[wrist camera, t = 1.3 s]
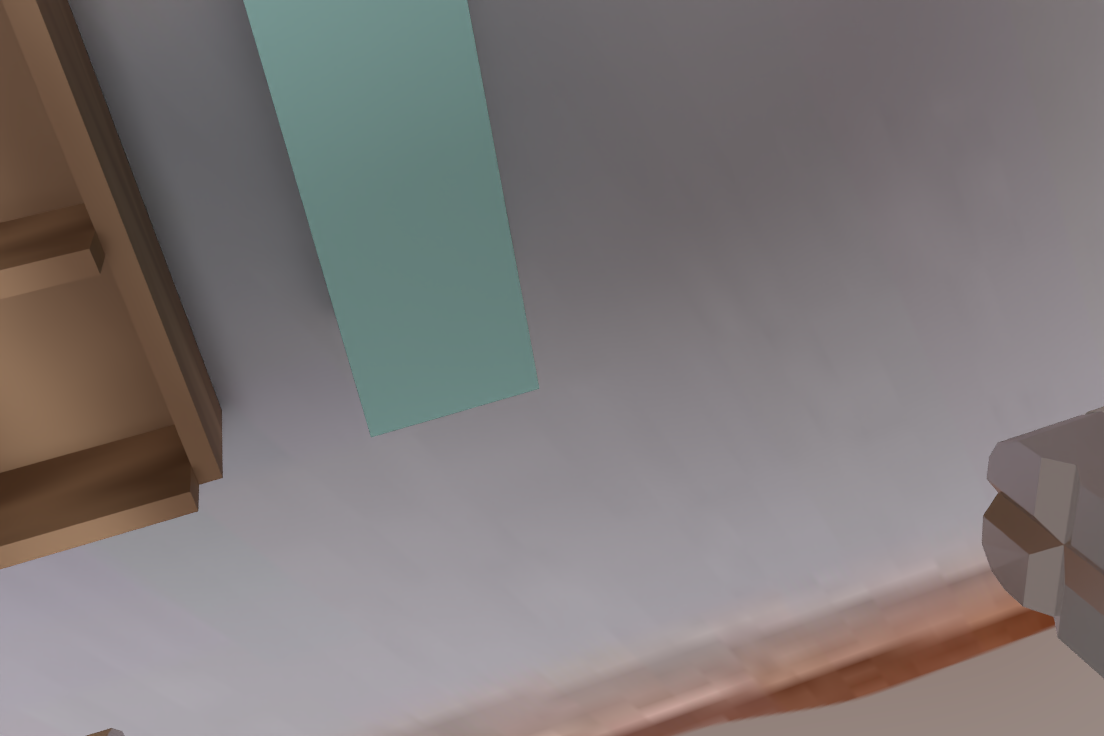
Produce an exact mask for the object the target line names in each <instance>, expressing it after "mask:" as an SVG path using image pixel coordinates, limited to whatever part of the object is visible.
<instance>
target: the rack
mask: <svg viewBox="0 0 1104 736" xmlns="http://www.w3.org/2000/svg"><path fill="white" fill-rule="evenodd" d="M220 478H223V467H222V410H221V407H220V405H219V402H218V399H217V397H216V394H215V391H214V389H213V386H212V383H211V381H210V378H209V375H208V373H207V370H206V367H205V365H204V362H203V360H202V357H201V354H200V352H199V349H198V346H197V344H196V341H195V338H194V336H193V333H192V330H191V328H190V325H189V322H188V320H187V317H186V314H185V312H184V309H183V306H182V304H181V301H180V298H179V296H178V293H177V290H176V288H175V285H174V282H173V280H172V277H171V274H170V272H169V269H168V267H167V264H166V261H165V259H164V256H163V253H162V251H161V248H160V245H159V243H158V240H157V237H156V235H155V232H154V229H153V227H152V224H151V221H150V219H149V216H148V213H147V211H146V208H145V205H144V203H143V200H142V197H141V195H140V192H139V189H138V187H137V184H136V181H135V179H134V176H133V174H132V171H131V168H130V166H129V163H128V160H127V158H126V155H125V152H124V150H123V147H122V144H121V142H120V139H119V136H118V134H117V131H116V128H115V126H114V123H113V120H112V118H111V115H110V112H109V110H108V107H107V104H106V102H105V99H104V96H103V94H102V91H101V88H100V86H99V83H98V81H97V78H96V75H95V73H94V70H93V67H92V65H91V62H90V59H89V57H88V54H87V51H86V49H85V46H84V43H83V41H82V38H81V35H80V33H79V30H78V27H77V25H76V22H75V19H74V17H73V14H72V11H71V9H70V6H69V3H68V1H67V0H0V569H3V568H6V567H10V566H13V565H17V564H20V563H23V562H27V561H30V560H34V559H37V558H40V557H44V556H47V555H51V554H54V553H57V552H61V551H64V550H68V549H71V548H74V547H78V546H81V545H85V544H88V543H91V542H95V541H98V540H102V539H105V538H109V537H112V536H115V535H119V534H122V533H126V532H129V531H132V530H136V529H139V528H143V527H146V526H149V525H153V524H156V523H160V522H163V521H166V520H170V519H173V518H177V517H180V516H183V515H187V514H190V513H194V512H197V511H198V502H199V484H203V483H206V482H210V481H213V480H217V479H220Z"/></svg>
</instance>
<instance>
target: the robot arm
mask: <svg viewBox="0 0 1104 736" xmlns="http://www.w3.org/2000/svg"><path fill="white" fill-rule="evenodd" d="M987 480H988V481H989V482H990V483H991V485H992V486H993V487H994V488H995V489H996V491H997V492H998V494H997V496H996V497H995V499H994V500H993V502H992V503H991V505H990V506H989V508H988V509H987V511H986V512H985V514H984V516H983V531H982V545H983V548H984V551H985V554H986V557H987V560H988V562H989V565H990V568H991V571H992V572H993V574H994V575H995V576H996V578H997V579H998V581H999V582H1000V584H1001V585H1002V586H1003V588H1004V589H1005V590H1006V591H1007V592H1008V593H1009V594H1010V595H1011V596H1012V597H1013V598H1014V599H1016V600H1017V601H1018V602H1019V603H1020V604H1021V605H1022V606H1023V607H1026V608H1029V609H1032V610H1035V611H1038V612H1041V613H1044V614H1047V615H1050V616H1053V617H1054V620H1055V625H1056V631H1057V637H1058V638H1059V639H1060V640H1061V641H1062V642H1063V643H1064V644H1066V645H1067V646H1068V647H1069V648H1070V649H1071V650H1072V651H1074V652H1075V653H1076V654H1077V655H1078V656H1079V657H1080V658H1081V659H1082V660H1084V661H1085V662H1086V663H1087V664H1088V665H1089V666H1090V667H1091V668H1093V669H1094V670H1095V671H1096V672H1097V673H1098V674H1099V675H1101V676H1102V677H1103V678H1104V406H1103V407H1101V408H1098V409H1095V410H1092V411H1089V412H1087V413H1086V414H1085V415H1080V416H1076V417H1073V418H1070V419H1067V420H1064V421H1061V422H1058V423H1055V424H1052V425H1049V426H1046V427H1043V428H1040V429H1037V430H1034V431H1031V432H1028V433H1025V434H1022V435H1019V436H1016V437H1013V438H1010V439H1007V440H1004V441H1001V442H998V443H997V445H996V446H995V448H994V450H993V451H992V453H991V455H990V456H989V462H988V471H987ZM87 736H125V735H124V734H123V732H122V731H120V730H117V729H113V728H110V729H107V730H104V731H100V732H97V733H94V734H90V735H87Z"/></svg>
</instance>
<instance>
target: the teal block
mask: <svg viewBox="0 0 1104 736" xmlns="http://www.w3.org/2000/svg"><path fill="white" fill-rule="evenodd" d="M243 1H244V5H245V8H246V11H247V15H248V18H249V22H250V25H251V29H252V32H253V35H254V39H255V42H256V46H257V49H258V52H259V56H260V59H261V63H262V66H263V70H264V73H265V76H266V80H267V83H268V87H269V90H270V93H271V97H272V100H273V104H274V107H275V111H276V114H277V117H278V121H279V124H280V128H281V131H282V135H283V138H284V141H285V145H286V148H287V152H288V155H289V158H290V162H291V165H292V169H293V172H294V176H295V179H296V182H297V186H298V189H299V193H300V196H301V199H302V203H303V206H304V210H305V213H306V217H307V220H308V223H309V227H310V230H311V234H312V237H313V241H314V244H315V247H316V251H317V254H318V258H319V261H320V264H321V268H322V271H323V275H324V278H325V282H326V285H327V288H328V292H329V295H330V299H331V302H332V305H333V309H334V312H335V316H336V319H337V323H338V326H339V329H340V333H341V336H342V340H343V343H344V346H345V350H346V353H347V357H348V360H349V364H350V367H351V370H352V374H353V377H354V381H355V384H356V388H357V391H358V394H359V398H360V401H361V405H362V408H363V411H364V415H365V418H366V422H367V425H368V429H369V432H370V435H371V437H374V436H377V435H381V434H384V433H388V432H391V431H395V430H398V429H402V428H405V427H409V426H412V425H415V424H419V423H422V422H426V421H429V420H433V419H436V418H440V417H443V416H447V415H450V414H454V413H457V412H460V411H464V410H467V409H471V408H474V407H478V406H481V405H485V404H488V403H492V402H495V401H498V400H502V399H505V398H509V397H512V396H516V395H519V394H523V393H526V392H530V391H533V390H537V389H539V384H538V379H537V373H536V368H535V363H534V357H533V352H532V346H531V341H530V336H529V330H528V325H527V320H526V314H525V309H524V303H523V298H522V293H521V287H520V282H519V276H518V271H517V266H516V260H515V255H514V249H513V244H512V239H511V233H510V228H509V223H508V217H507V212H506V206H505V201H504V196H503V190H502V185H501V179H500V174H499V169H498V163H497V158H496V153H495V147H494V142H493V136H492V131H491V126H490V120H489V115H488V109H487V104H486V99H485V93H484V88H483V82H482V77H481V72H480V66H479V61H478V56H477V50H476V45H475V39H474V34H473V29H472V23H471V18H470V12H469V7H468V2H467V0H243Z"/></svg>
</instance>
